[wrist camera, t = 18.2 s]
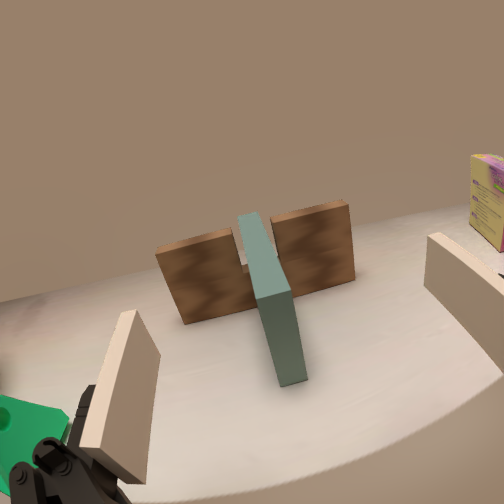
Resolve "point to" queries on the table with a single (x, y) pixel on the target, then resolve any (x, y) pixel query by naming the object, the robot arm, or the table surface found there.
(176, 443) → the table surface
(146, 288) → the table surface
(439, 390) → the table surface
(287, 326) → the cross plate
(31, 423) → the camera mount
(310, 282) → the notched brown wooden panel
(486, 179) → the box
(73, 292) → the table surface
